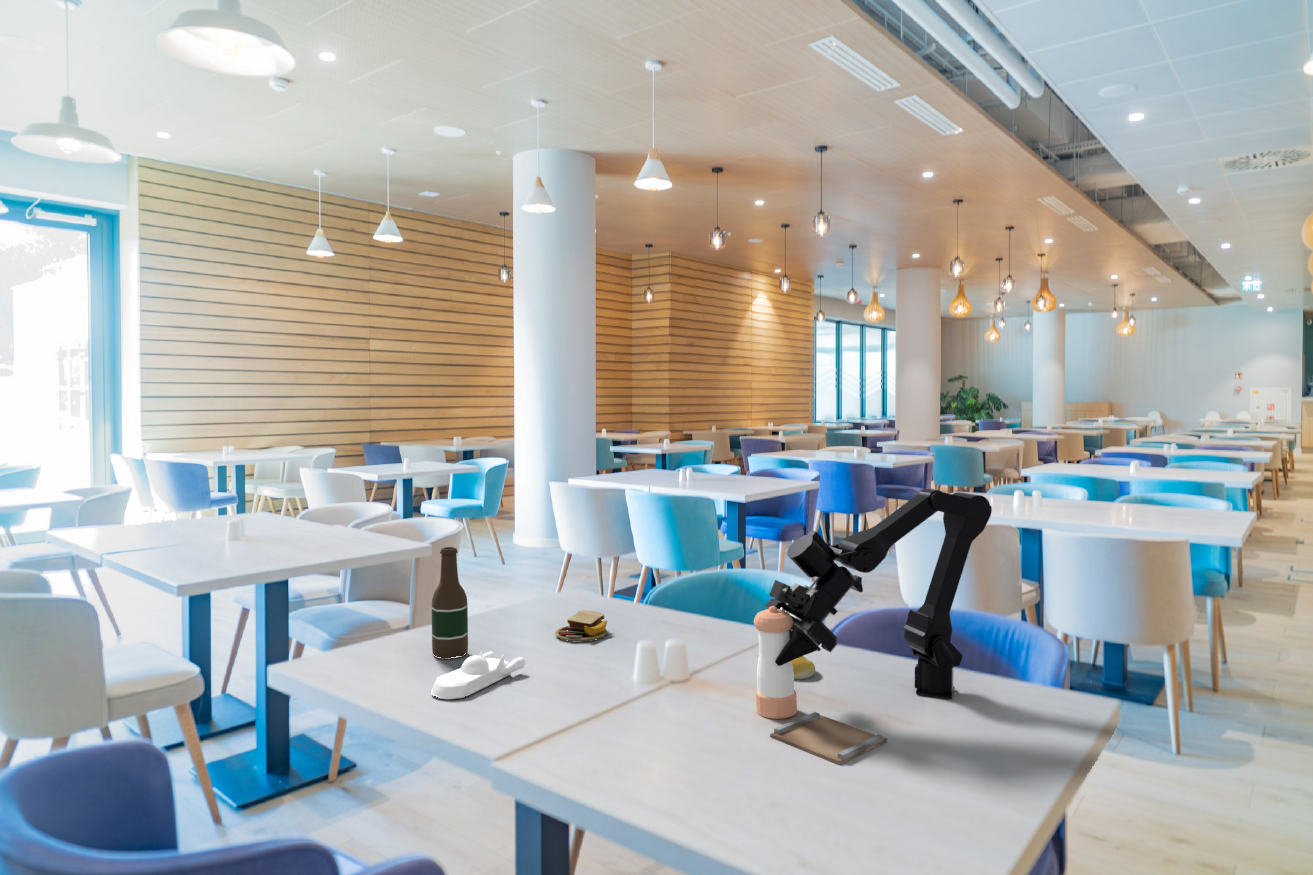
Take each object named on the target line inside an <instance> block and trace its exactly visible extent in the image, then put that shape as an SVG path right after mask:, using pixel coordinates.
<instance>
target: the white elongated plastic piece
mask: <svg viewBox="0 0 1313 875" xmlns="http://www.w3.org/2000/svg"><path fill="white" fill-rule="evenodd" d="M525 665H526V661H525V659H524V658H523V657H522V656H519V657H515V658H514V659H512V660H511V661H510V662H509V661H507V660H505V654H502V655H501V657H500V658H496V656H495V653H494V652H493V651H491V650H490V651H488V652H487V651H486V652H485V653H483V650H480V651H479V653H478V654H477V655H470V656H469V657H467V658H465V660H464V661H463V662H462V665H461V667H460V668H457V669H455V670H453V671H450V672H447V673H445V674H441V675H439V676H437V678H436V679H435V681H434V684H433V686H432V689H431V690H430V691H431V696H432V695H433V696H432V697H434V696H436V697H435V698H437V697H438V698H437V699H441V700H442V699H443V700H454V699H463V698H465V696H466V697H468V696H470V695H473V694H475V693H476V692H479V691H481V690H482V689H484V688H487V687H488V686H490V685H493V684H494V683H497V682H498V681H500V680H502V679H504V678H506V677H508V676H510V675H511V674H512V673H514V672H516V671H517V670H520V669H522V668H523V669H524V667H525Z"/></svg>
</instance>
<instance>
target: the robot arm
mask: <svg viewBox="0 0 1313 875" xmlns="http://www.w3.org/2000/svg"><path fill="white" fill-rule="evenodd" d="M992 510H993V508H992V505H991V503H990V502H989V500H988V498H987V497H985V496H984V495H980V494H973V493H966V492H961V491H957V492H954V493H952V494H951V493H947V492H943V491H942V490H940V489H933V488H929V487H928V488H923V489H920V490H919V491H918V492H917V494H916V495H914V497H912V498H911V499H909V500H908V501H906V502H905V503H904V504H902V505H901V506H900V507H898V508H897V509H896V510H895V511H893V512H892V513H890V514H889V515H888V516H886V517H885V518H884V519H882V520H881V521H880V522H878V523H877V524H875V525H874V526H872V527H870V528H866V529H864V530H860V531H857V532H855V533H853V534H851V535H849V536H847V537H845V538H843V539H842V540H841V541H840V542H839V543H837V544H832V545H828V543H827V542H826V541H825V540H824V539H823V537H822V536H821V534H819V532H818V531H815V530H810V531H809V532H808V533H807V534H805V535H802V536H800V537H799V538H798V539H795V540H794V541H793V542H792V543H791V544H790V545H789V547H788V549H787V552H786V555H787V557H788V558H789V559H790V560H791V561H792V562H793V563H794V564H795V566H797V567H798V568H799V569H800V570H801V571H802V572H803V574H805V576H807V577H808V578H815V580H814V581H813V583H811V584H810V585H809V586H808V585H807V584H806V585H800V584H798V583H795V582H794V584H792V586H791V585H788V584H786V583H783V582H782V581H779V580H776V579H775V580H774V582H773V585H772V587H771V590H770V592H769V595H768V596H769V597H771V598H770V599H769V600H768V602H766V604H764V607H765V608H766V609H769V607H771V606H775V607H777V609H780V610H783V611H786V612H788V613H789V614H790V616H791V617H792V619H793V625H792V627H791V629H790V630H789V641H788V643H787V644H786V645H785V647H784V648H783V650H782V651H781V653H780V654H779V656H778V657H777V659H776V661H775V663H776V664H777V665H778V666H781V665H783V664H785V663H788V662H790V661H792V660H794V659H797V658H799V657H801V656H804V657H805V655H809V654H811V653H814V652H820V651H821V648H822V649H824V650H825V651H827V652H829V653H830V654H831V653H832V652H833V650H834V649H835V648H836V647H837V646H838V637H837V635H836V634H835V633H834V632H832V630H831V629H830V628H829V627H828V626H826V625H825V623H823V622H824V621H825V619H826V618H828V616H829V615H830V614H831V615H833V616H836V614H837V612H838V610H837V609H836V606H837V605H838V604H839V603H840V602H841V600H842V599H844V597H845V596H846V594H847V593H848V592H849V591H850V590H853V591H856V592H858V593H863V592H864V588H863V581H862V580H863V577H861V576H858V575H856V574H853V573H852V572H851V571H850V570H849V569H852V570H854V571H857V572H860V573H865V574H868V573H871V572H872V571H874V570H875V569H876V568H877V567H878V566H879V565H880V564H881V563H882V562H883V561H884V560H885V559H886V557H887V555H888V552H889V550H890V549H891V548H892V547H893V545H894V544H896V543H897V542H899V541H900V540H901V539H902V538H904V537H905V536H906V535H908V534H909V533H910V532H912V531H913V530H914V529H916V528H918V527H919V526H920V525H921V524H923V522H925V521H926V520H928V519H929V518H930V517H932V516H933V515H935V514H936V513H937V512H941V513H943V517H942V520H943V526H944V530H945V531H944V532H945V534H944V535H945V536H944V540H943V541H942V545H941V548H940V552H939V555H938V558H937V562H936V564H935V567H934V569H933V570H934V571H933V574H932V578H931V580H930V583H929V587H928V590H927V593H926V595H925V600H924V602H923V604H922V605H921V606H920V607H919V608H918V609H917V610H914V609H909V611H908V613H907V619H906V623H905V624H904V626H903V627H902V629H903V630H904V634H903V635H904V638H903V639H904V640H905V641H906V642H905V643H906V644H907V646H909V648H910V651H911V654H912V655H913V657H918V660H917V663H916V664H915V667H914V688H915V689H916V690H915V694H916V695H919V696H927V697H933V698H941V699H948V700H952V699H953V696H954V692H955V689H956V688H955V686H954V671H955V670H954V668H955V667H959V666H961V663H962V661H963V660H962V659H963V654H962V653H961V652H960V651H959V649H957V647H955V646H954V644H953V643H951V642H952V637H953V636H952V635H953V625H952V621H951V620H952V619H951V609H952V607H953V604H954V599H955V597H956V594H957V590H958V588H959V585H960V581H961V579H962V578H961V577H962V574H963V571H964V568H965V565H966V561H967V559H968V556H969V552H970V550H971V546H972V543H974V542H973V541H974V540H976V538H978V536H980V535H981V534H982V533H983V532H984V530H985V529H986V526H987V525H988V522H989V520H990V518H991V516H992V512H993V511H992ZM835 561H836V562H838V563H840V564H841V565H843V566H839V565H838V564H837V563H836V562H835ZM820 645H821V647H820Z"/></svg>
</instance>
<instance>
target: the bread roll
mask: <svg viewBox="0 0 1313 875" xmlns="http://www.w3.org/2000/svg"><path fill="white" fill-rule="evenodd" d="M792 666H793V671H794V680H806V679H810V678H811V677H813V676H815V674H816V665H815V663H813V661H811V660H809V659H808V658H806V657H805V655H804V656H801V657H799V658H797V659H794V660H792Z"/></svg>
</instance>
